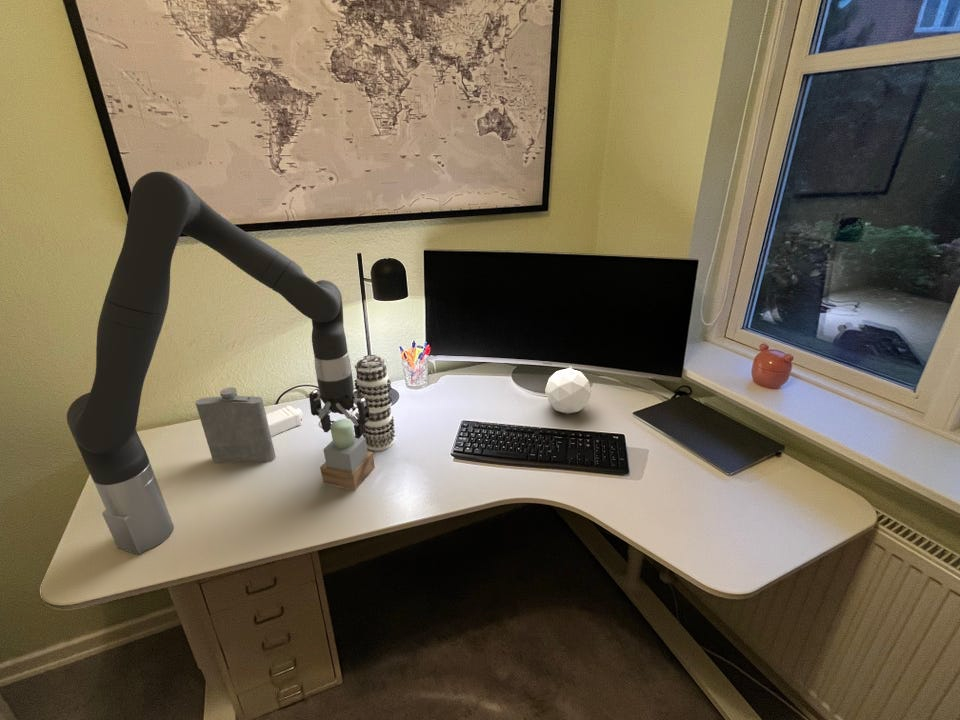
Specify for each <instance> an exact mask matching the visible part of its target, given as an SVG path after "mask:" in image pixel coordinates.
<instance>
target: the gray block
mask: <svg viewBox="0 0 960 720" xmlns="http://www.w3.org/2000/svg"><path fill="white" fill-rule="evenodd" d="M354 437H355V435H354ZM367 451H368V449H367V446H366V439H365V438H363V436H361V437H360V438H359V439H358V438H355V443H354V445H352V446H351V447H349V448H346V449H337V448H335V447H334V445H333V440H331V441H330V442H329V443H328V444H327V445H326V446H325V447H324V448H323V454H324V460H325V462H326V466H327V467H331V468H335V469H340V470H344V471H349V472H353V471H354V470H355V469H356V467H357V466H358V465H359V464H360V463H361V462H362V461H363V460H364V458H365V457H366V456H367V455H368V453H367Z"/></svg>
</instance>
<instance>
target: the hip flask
mask: <svg viewBox="0 0 960 720" xmlns="http://www.w3.org/2000/svg"><path fill="white" fill-rule="evenodd" d="M237 393H238V391H237V389H236V387H233V386H232V387H225V388H222V389H221V390H220V391H219V395H220V396H210V397H203V398H199V399H197V400H196V401H195V406H196V410H197V413H198V416H199V419H200V420H199V421H200V423H201V426H202V428H203V432H204V436H205V439H206V441H207V442H206V443H207V445H208V446H207V447H208V449H209V450H208V451H209V452H210V455H211V459H212V463H214V464H220V463H228V462H262V463H263V462H264V463H269V462H272V461H274V460H276V458H277V456H276V453H275V448H274V444H273V440H272V437H271V434H270V430H269V426H268V421H267V417H266V414H267V413H266V410H265V405H264V400H263V398H262V396H261V397H260V396H252V395H251V396H250V395H237Z"/></svg>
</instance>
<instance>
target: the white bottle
mask: <svg viewBox="0 0 960 720" xmlns="http://www.w3.org/2000/svg"><path fill="white" fill-rule="evenodd" d="M266 417H267V421H268V426H269V430H270V434H271V438H272V437H273V436H276V435H279V434H280V433H283V432H285V431H288V430H290V429H293V428H295V427H298V426H301V425H302V420H301V419H302V418H303V417H304V414H303V412H302V410H301V409H300V408H299V407H297V408H294V407H293V406H291V405H286V406H285V407H282V408H280V409H276V410H274V411H272V412H269V413H266Z"/></svg>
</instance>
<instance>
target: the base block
mask: <svg viewBox="0 0 960 720" xmlns="http://www.w3.org/2000/svg"><path fill="white" fill-rule="evenodd" d="M367 453H368V455H367V456H366V457H365V458H364V460H363V461H362V462H361V463H360V464H359V465H358V466H357V467H356V469H355V470H354V471H353V472H349V471H344V470H340V469H335V468H331V467H327V466H326V461H325V462H323V464H322V465H320V466H319V468H320V473H321V480H322V483H323V484H326V485H331V486H335V487H339V488H343V489H348V490H352V491H354V492H355V491H357V489H358V488H359V487H361V485H362V484H363V483H364V481H365V480H366V479H367V478H368V476H370V475H371V473H372V472H373V471H374V470H375V468H376V465H375V458H374V457H375V456H374V451H370V450H367Z"/></svg>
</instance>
